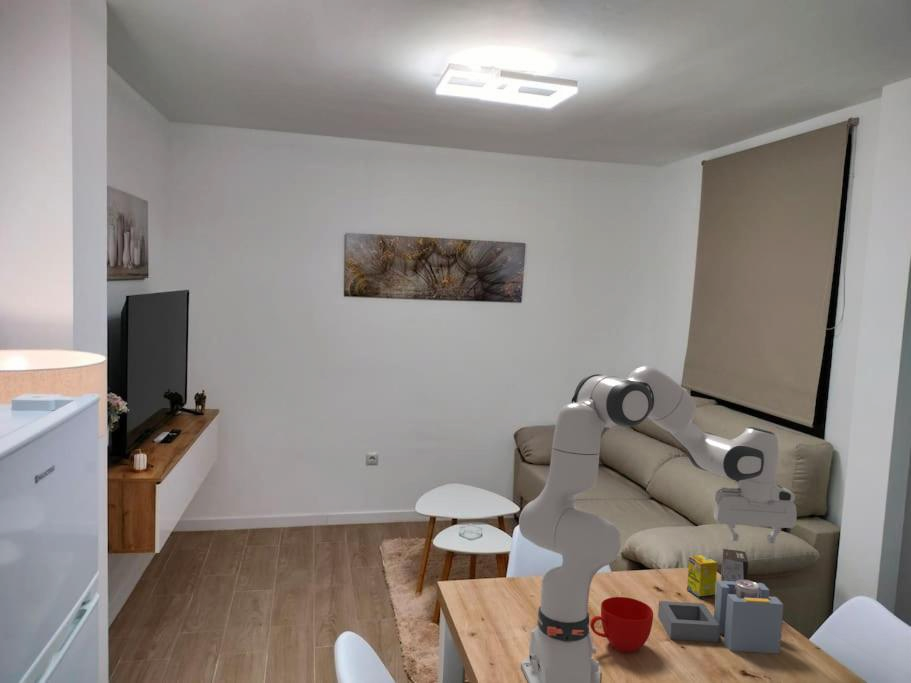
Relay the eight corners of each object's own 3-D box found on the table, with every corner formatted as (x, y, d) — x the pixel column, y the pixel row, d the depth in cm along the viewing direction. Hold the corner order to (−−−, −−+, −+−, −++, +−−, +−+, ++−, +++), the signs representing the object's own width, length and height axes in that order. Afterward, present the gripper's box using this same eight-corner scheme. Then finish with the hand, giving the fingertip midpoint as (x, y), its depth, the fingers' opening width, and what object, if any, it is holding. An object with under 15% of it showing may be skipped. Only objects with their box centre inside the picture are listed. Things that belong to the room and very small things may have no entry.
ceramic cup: (576, 639, 173) (578, 602, 172) (630, 630, 179) (633, 594, 178) (604, 665, 161) (606, 625, 160) (661, 655, 167) (664, 616, 166)
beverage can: (735, 630, 181) (739, 577, 180) (758, 639, 177) (762, 584, 176) (727, 638, 177) (731, 583, 176) (751, 647, 173) (755, 591, 172)
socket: (779, 653, 170) (783, 602, 169) (729, 650, 171) (733, 599, 170) (759, 629, 183) (763, 581, 182) (713, 626, 183) (716, 579, 182)
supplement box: (686, 590, 206) (688, 555, 205) (702, 588, 207) (705, 554, 207) (698, 599, 200) (701, 563, 199) (715, 597, 202) (717, 562, 201)
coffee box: (744, 617, 189) (748, 562, 188) (720, 613, 191) (724, 558, 190) (742, 604, 198) (746, 551, 197) (718, 600, 200) (722, 547, 199)
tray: (718, 642, 175) (719, 625, 174) (670, 639, 175) (671, 622, 175) (702, 619, 187) (704, 603, 187) (657, 616, 188) (658, 600, 187)
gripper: (720, 490, 171) (716, 543, 172) (801, 495, 170) (797, 548, 171) (712, 483, 177) (708, 534, 178) (790, 488, 177) (786, 539, 177)
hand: (752, 541), depth 175 cm, fingers open, 8 cm apart
